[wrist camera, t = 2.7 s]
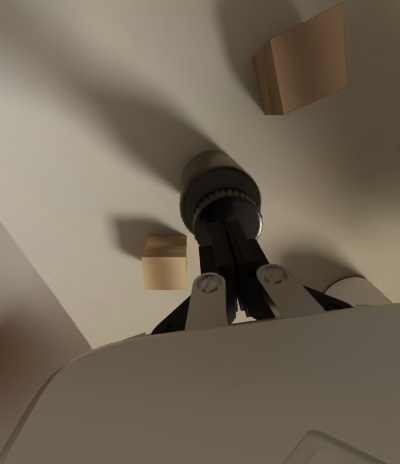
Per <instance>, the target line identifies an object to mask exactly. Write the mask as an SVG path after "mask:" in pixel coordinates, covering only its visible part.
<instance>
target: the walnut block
mask: <svg viewBox="0 0 400 464" xmlns="http://www.w3.org/2000/svg"><path fill="white" fill-rule="evenodd" d="M252 58H253V62H254V67H255V71H256V76H257V80H258V84H259V89H260V93H261V98H262V102H263V107H264V111H265V115H284V114H286V113H289V112H291V111H293V110H295V109H298V108H300V107H302V106H304V105H307V104H309V103H311V102H313V101H316V100H318V99H320V98H322V97H324V96H327V95H329V94H331V93H333V92H336V91H338V90H340V89H342V88H345V87H347V74H346V54H345V34H344V13H343V3H341V4H339V5H337V6H335V7H333V8H331V9H329V10H327V11H325V12H323V13H321V14H319V15H317V16H315V17H313V18H311V19H310V20H308V21H306V22H304V23H302V24H300V25H298V26H296V27H294V28H292V29H290V30H288V31H286V32H284V33H282V34H280V35H278V36H276V37H274V38H272V39H270V40H269V41H268V42H267V43H266V44H265V45H264V46H263V47H262V48H261V49H260V50H259V51H258V52H257V53H256V54H255V55H254V56H253V57H252Z"/></svg>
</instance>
